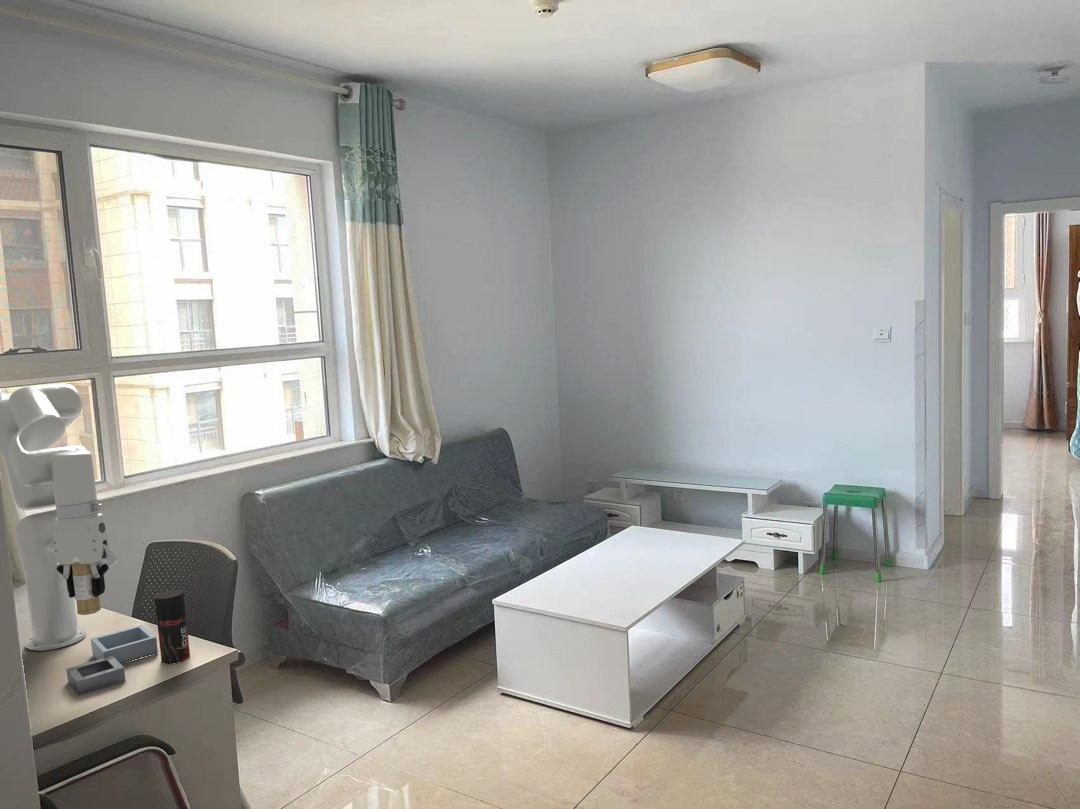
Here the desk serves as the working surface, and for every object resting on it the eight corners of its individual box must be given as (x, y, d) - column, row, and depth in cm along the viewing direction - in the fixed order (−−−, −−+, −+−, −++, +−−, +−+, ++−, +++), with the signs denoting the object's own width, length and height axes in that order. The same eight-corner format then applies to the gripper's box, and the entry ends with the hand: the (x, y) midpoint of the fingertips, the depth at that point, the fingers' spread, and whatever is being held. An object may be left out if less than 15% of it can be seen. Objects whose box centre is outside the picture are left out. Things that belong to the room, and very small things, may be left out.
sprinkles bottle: (95, 606, 175) (88, 545, 174) (105, 610, 173) (98, 548, 171) (72, 613, 172) (65, 551, 170) (82, 617, 169) (75, 554, 167)
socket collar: (67, 682, 174) (66, 668, 174) (114, 668, 180) (112, 655, 179) (78, 695, 167) (76, 681, 167) (125, 681, 173) (124, 667, 173)
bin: (92, 655, 188) (90, 638, 187) (143, 641, 195) (141, 624, 194) (105, 669, 180) (103, 652, 179) (158, 653, 187) (156, 637, 186)
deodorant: (184, 663, 181) (177, 597, 179) (157, 665, 180) (149, 599, 179) (193, 652, 187) (187, 588, 185) (167, 654, 186) (160, 590, 185)
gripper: (126, 504, 173) (135, 587, 175) (49, 507, 174) (59, 590, 176) (107, 513, 166) (116, 600, 168) (25, 516, 166) (36, 602, 168)
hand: (87, 594), depth 172 cm, fingers closed on sprinkles bottle, 4 cm apart
